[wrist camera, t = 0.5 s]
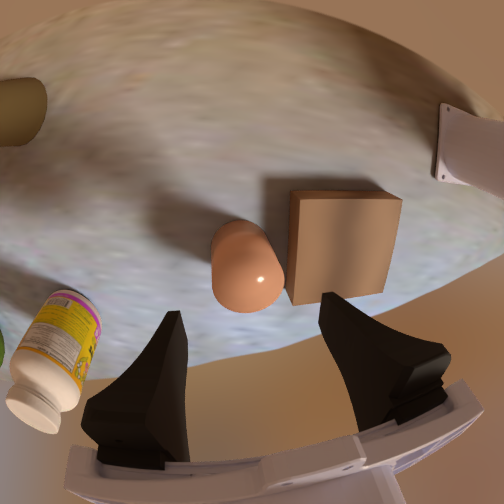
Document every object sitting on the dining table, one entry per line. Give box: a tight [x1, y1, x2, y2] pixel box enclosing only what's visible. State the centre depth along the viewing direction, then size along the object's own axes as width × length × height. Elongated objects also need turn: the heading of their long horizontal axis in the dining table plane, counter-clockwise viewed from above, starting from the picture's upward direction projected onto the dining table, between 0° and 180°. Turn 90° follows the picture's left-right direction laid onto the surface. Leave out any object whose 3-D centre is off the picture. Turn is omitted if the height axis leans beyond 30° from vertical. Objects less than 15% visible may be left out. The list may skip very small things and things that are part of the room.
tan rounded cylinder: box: [211, 220, 284, 313], centre depth 20 cm, size 5×5×6 cm
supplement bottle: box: [6, 290, 102, 434], centre depth 17 cm, size 7×7×13 cm
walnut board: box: [286, 190, 402, 306], centre depth 22 cm, size 9×9×2 cm
